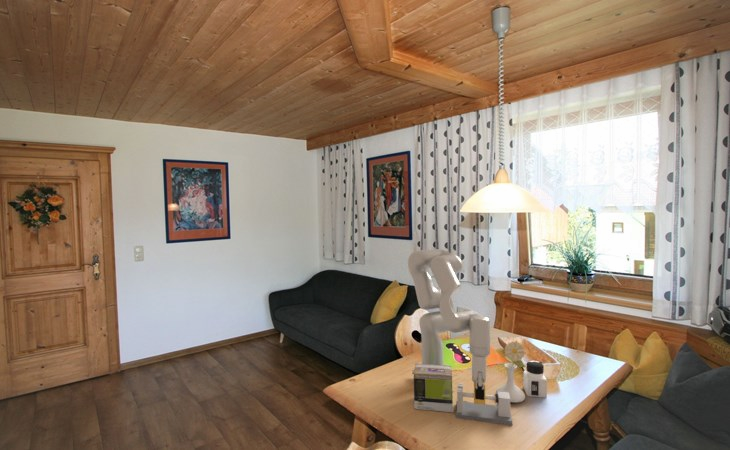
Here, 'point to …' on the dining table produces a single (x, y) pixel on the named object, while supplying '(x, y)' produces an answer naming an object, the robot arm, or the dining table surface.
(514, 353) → the flower in vase
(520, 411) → the dining table surface
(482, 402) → the sleeve
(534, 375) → the container
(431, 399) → the tea box
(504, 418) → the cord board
